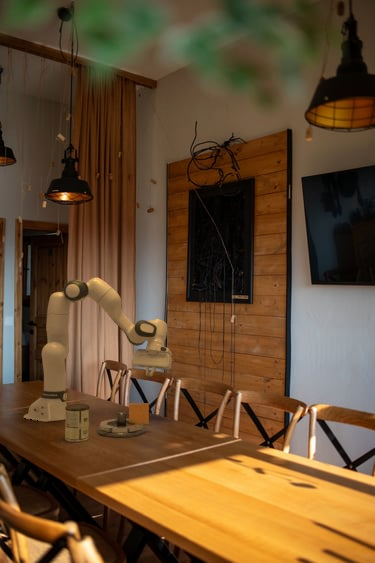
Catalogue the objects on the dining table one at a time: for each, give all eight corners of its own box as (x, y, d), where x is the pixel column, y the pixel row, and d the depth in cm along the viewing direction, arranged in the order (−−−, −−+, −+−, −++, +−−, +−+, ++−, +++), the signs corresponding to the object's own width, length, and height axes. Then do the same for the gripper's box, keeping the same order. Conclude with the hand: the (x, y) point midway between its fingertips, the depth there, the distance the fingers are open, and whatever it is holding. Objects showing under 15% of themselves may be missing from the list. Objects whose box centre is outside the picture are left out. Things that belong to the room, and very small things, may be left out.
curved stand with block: (98, 432, 238) (98, 407, 238) (102, 422, 257) (103, 399, 257) (148, 432, 239) (148, 407, 239) (148, 422, 258) (149, 399, 258)
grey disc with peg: (88, 435, 240) (88, 416, 241) (109, 424, 261) (109, 406, 262) (134, 439, 234) (134, 419, 234) (152, 428, 255) (152, 409, 255)
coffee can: (69, 435, 240) (69, 403, 240) (91, 436, 239) (92, 404, 239) (61, 441, 230) (62, 408, 230) (85, 442, 229) (85, 408, 229)
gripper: (133, 346, 276) (127, 371, 269) (171, 349, 269) (166, 375, 263) (137, 350, 281) (132, 376, 275) (174, 353, 275) (169, 379, 268)
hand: (149, 375), depth 269 cm, fingers closed
